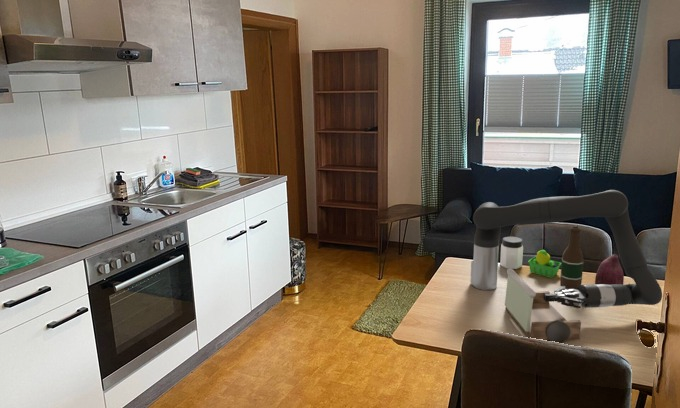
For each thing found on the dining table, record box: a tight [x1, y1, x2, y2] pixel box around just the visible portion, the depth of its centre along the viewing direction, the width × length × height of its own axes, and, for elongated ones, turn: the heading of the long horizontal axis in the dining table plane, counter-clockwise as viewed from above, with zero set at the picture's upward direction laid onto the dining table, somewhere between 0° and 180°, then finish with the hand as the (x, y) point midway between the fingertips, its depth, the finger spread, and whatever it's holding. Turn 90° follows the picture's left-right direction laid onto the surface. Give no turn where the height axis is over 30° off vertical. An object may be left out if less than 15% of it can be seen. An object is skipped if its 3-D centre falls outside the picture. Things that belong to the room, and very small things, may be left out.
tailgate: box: [504, 268, 536, 332], centre depth 166 cm, size 2×19×14 cm, turn 2°
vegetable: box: [594, 253, 625, 285], centre depth 195 cm, size 10×10×15 cm
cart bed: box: [505, 290, 582, 344], centre depth 167 cm, size 15×27×7 cm, turn 2°
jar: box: [499, 236, 524, 270], centre depth 217 cm, size 9×8×12 cm
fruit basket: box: [527, 249, 562, 279], centre depth 207 cm, size 11×9×11 cm
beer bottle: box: [559, 226, 584, 290], centre depth 193 cm, size 8×8×24 cm
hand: (544, 297), depth 166 cm, fingers closed
